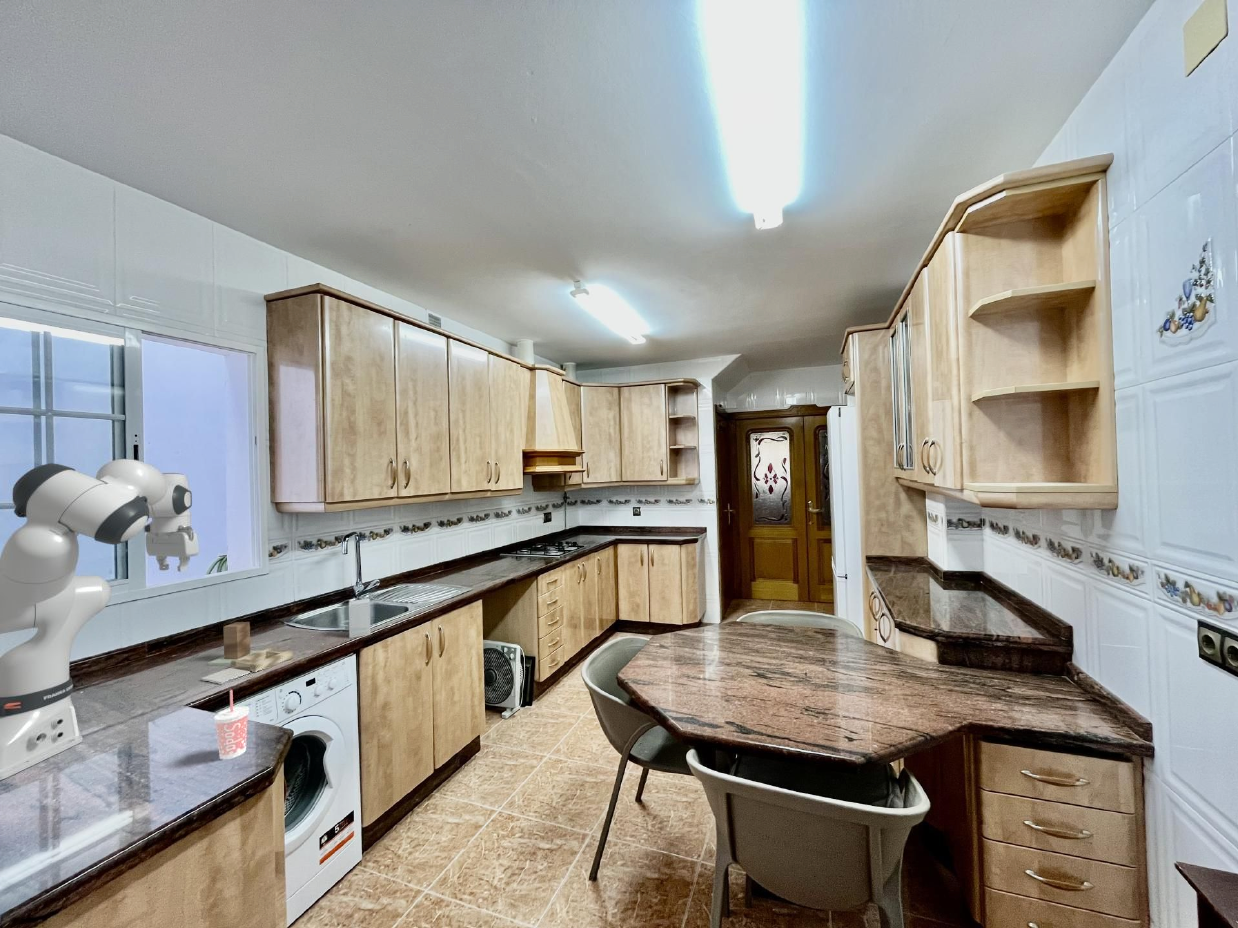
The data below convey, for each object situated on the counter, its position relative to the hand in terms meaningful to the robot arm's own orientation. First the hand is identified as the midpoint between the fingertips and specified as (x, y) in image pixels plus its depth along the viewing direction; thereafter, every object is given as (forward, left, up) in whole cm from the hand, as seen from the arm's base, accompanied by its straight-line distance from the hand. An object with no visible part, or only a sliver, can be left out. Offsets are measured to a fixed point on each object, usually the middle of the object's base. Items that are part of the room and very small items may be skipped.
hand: (173, 570), depth 150 cm
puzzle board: (+6, -17, -34) cm, 39 cm away
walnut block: (+17, -7, -33) cm, 38 cm away
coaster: (+17, -7, -34) cm, 39 cm away
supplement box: (+35, -40, -34) cm, 63 cm away
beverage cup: (-47, -45, -34) cm, 74 cm away
